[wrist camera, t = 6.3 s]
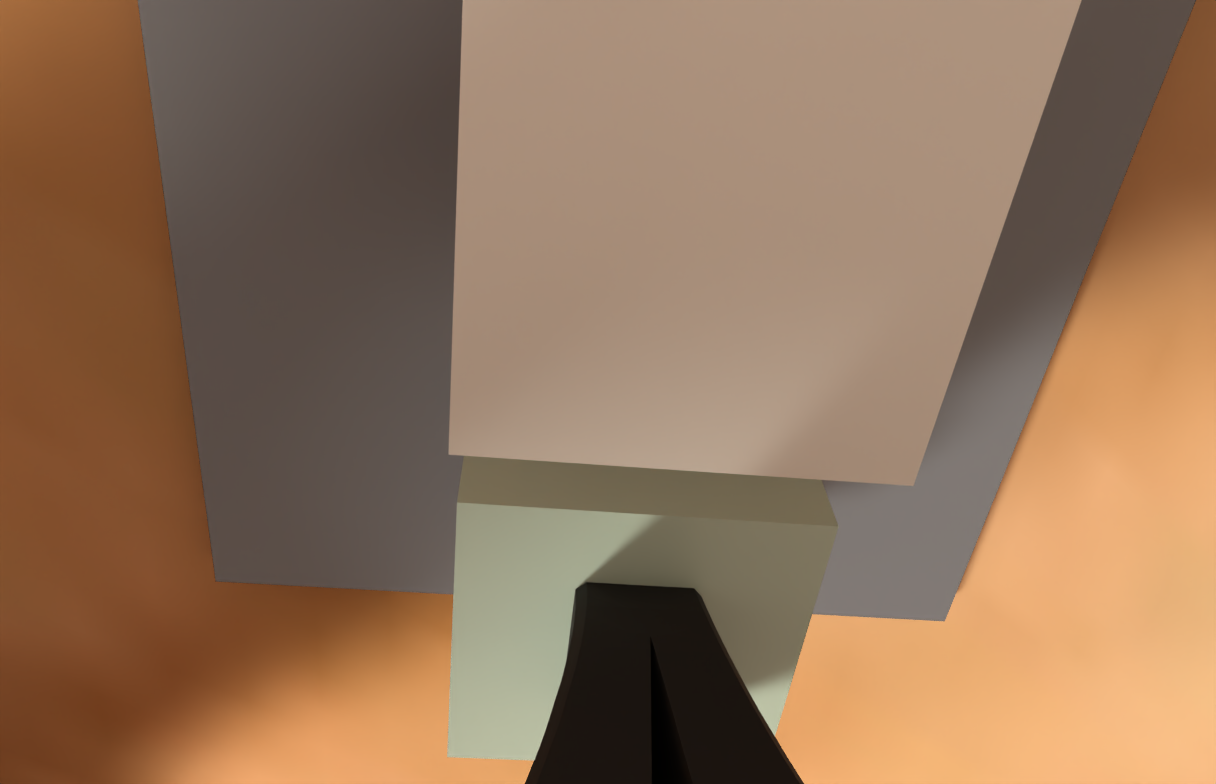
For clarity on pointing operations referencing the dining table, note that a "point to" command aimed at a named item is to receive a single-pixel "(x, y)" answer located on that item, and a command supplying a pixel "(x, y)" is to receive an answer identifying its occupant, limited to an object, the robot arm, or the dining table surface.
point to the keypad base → (424, 286)
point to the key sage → (619, 578)
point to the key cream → (732, 224)
